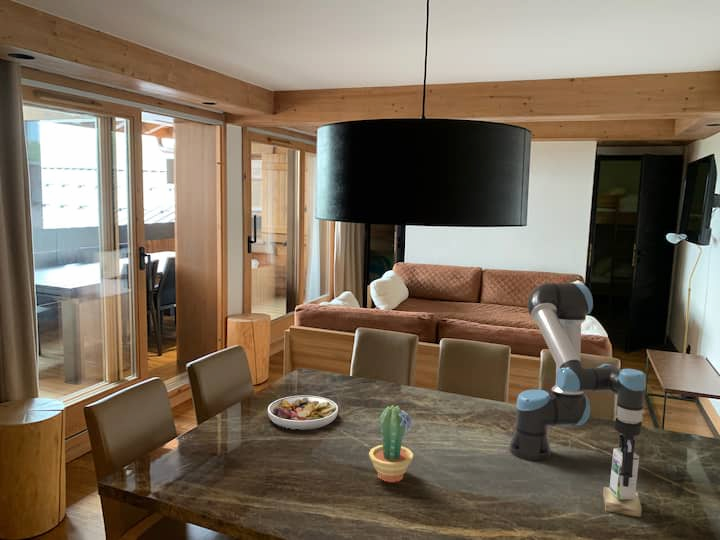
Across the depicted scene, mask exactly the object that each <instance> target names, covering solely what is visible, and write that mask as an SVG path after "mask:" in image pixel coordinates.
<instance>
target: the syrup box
mask: <svg viewBox="0 0 720 540" xmlns="http://www.w3.org/2000/svg"><path fill="white" fill-rule="evenodd" d="M623 450H625V449H623ZM611 459H612V460H611V461H612V462H611V472H610V481H609V488H610V489H609V491H611V492H612V493H613V495H614V496H615V497H616V498H617V499H635V492H637V491H636V490H637V481H638V472H639V462H640V455H638V454H637V453H636V452H634V455H633V469H632V478H631V480H630V491H629V496H625V495H620V494H619V491H620V479H621V475H619V473H622V463H623V453H622V452H621V448H619V447H615V448H613V450H612V458H611Z"/></svg>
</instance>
